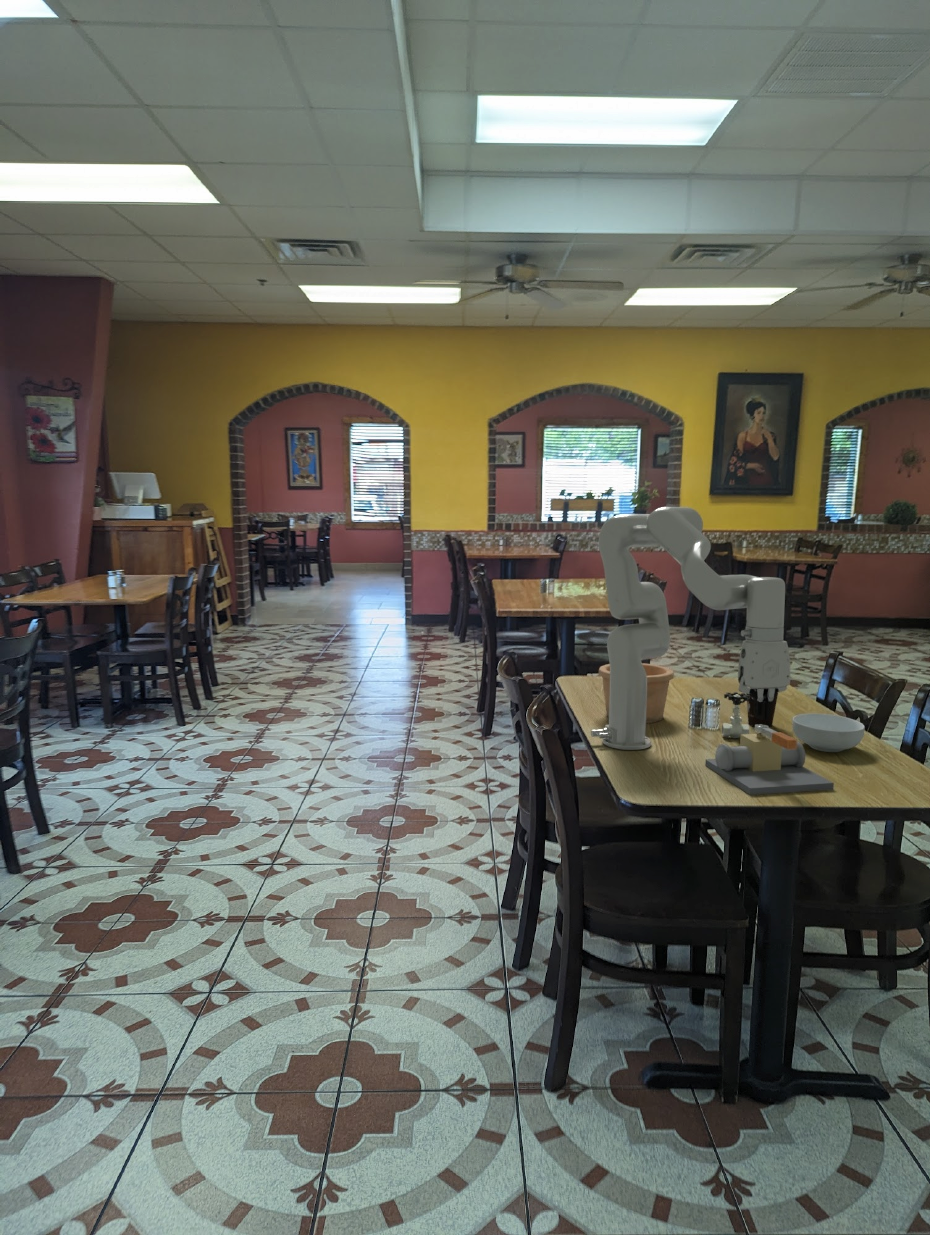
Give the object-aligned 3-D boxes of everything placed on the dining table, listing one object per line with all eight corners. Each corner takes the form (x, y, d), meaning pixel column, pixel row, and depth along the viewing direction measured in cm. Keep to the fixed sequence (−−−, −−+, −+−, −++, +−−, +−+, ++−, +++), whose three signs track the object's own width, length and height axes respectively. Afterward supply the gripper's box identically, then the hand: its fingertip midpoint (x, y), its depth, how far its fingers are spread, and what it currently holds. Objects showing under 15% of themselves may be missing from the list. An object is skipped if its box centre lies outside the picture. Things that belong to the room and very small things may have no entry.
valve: (749, 742, 204) (752, 698, 202) (723, 740, 205) (725, 697, 203) (745, 735, 210) (748, 692, 208) (720, 734, 211) (722, 691, 210)
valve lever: (752, 732, 180) (752, 723, 179) (763, 731, 180) (764, 723, 180) (785, 749, 166) (786, 740, 166) (798, 748, 167) (798, 739, 167)
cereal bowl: (792, 753, 194) (794, 726, 193) (789, 736, 210) (790, 710, 209) (867, 761, 188) (869, 733, 188) (858, 742, 204) (860, 716, 203)
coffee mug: (773, 730, 215) (775, 695, 213) (741, 726, 219) (743, 692, 218) (780, 721, 224) (782, 688, 223) (750, 717, 229) (751, 684, 228)
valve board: (749, 794, 165) (752, 753, 164) (705, 765, 185) (706, 727, 183) (833, 789, 169) (836, 748, 167) (780, 760, 188) (783, 724, 187)
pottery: (594, 706, 241) (596, 661, 240) (666, 708, 239) (667, 663, 238) (600, 725, 220) (601, 676, 218) (678, 727, 218) (680, 677, 216)
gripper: (741, 638, 160) (738, 724, 162) (806, 635, 162) (803, 720, 164) (723, 633, 167) (721, 716, 169) (786, 631, 169) (782, 712, 172)
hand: (761, 718), depth 167 cm, fingers closed
